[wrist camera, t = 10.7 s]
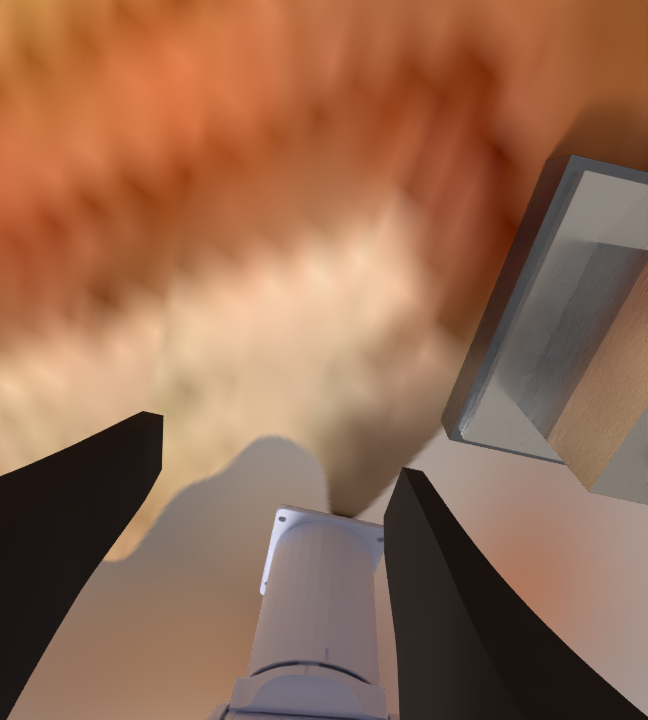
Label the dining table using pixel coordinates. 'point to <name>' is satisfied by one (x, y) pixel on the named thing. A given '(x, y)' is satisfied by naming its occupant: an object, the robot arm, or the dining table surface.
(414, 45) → the dining table surface
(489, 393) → the panel
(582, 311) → the housing
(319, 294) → the dining table surface
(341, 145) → the dining table surface
